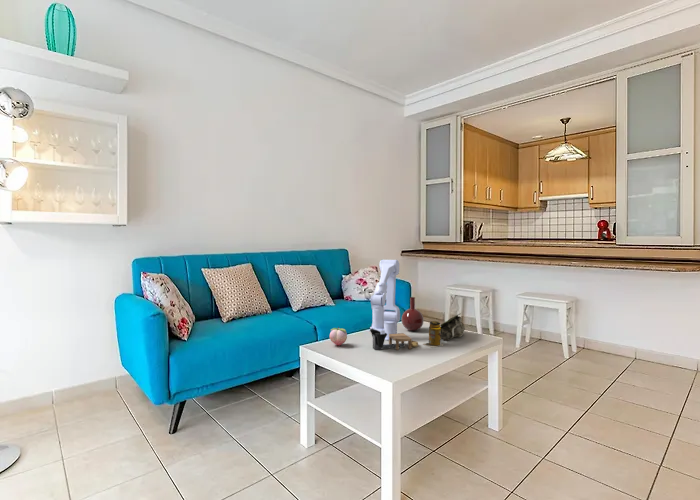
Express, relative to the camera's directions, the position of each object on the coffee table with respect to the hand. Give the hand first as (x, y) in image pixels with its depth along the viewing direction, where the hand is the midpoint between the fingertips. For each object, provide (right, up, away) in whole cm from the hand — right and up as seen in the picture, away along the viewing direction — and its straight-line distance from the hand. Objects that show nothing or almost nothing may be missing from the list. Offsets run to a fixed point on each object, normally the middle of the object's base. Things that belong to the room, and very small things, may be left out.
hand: (378, 344), depth 194 cm
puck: (+18, -2, +5) cm, 19 cm away
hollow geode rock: (+41, -1, +22) cm, 47 cm away
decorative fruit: (-20, -2, +6) cm, 21 cm away
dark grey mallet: (+6, -2, +2) cm, 6 cm away
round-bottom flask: (+23, -1, +37) cm, 44 cm away
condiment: (+29, -2, +7) cm, 30 cm away
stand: (+11, -2, +4) cm, 12 cm away
